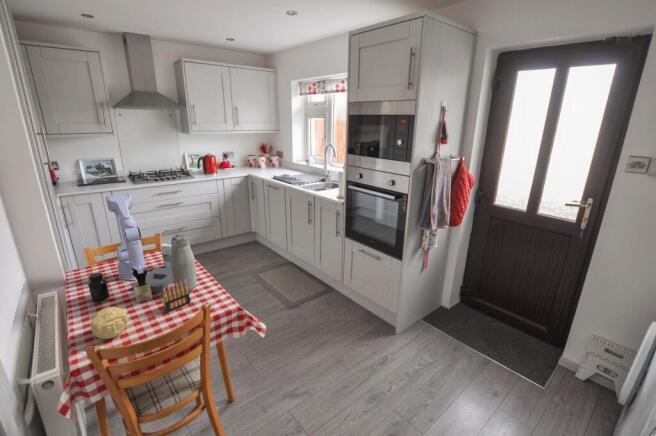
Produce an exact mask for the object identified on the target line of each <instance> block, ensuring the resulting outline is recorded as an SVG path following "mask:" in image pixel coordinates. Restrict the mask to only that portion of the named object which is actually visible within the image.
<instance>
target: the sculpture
mask: <svg viewBox="0 0 656 436" xmlns="http://www.w3.org/2000/svg"><path fill="white" fill-rule="evenodd" d="M128 320H129V319H128V315H127V310H126V308H123V307H116V306H110V307H105V308H102V309H101V310H98V311H97V312H96V313H95V314H94V315H93V316H92V318H91V320H90V326H89V327H90V330H91V333H92V334H93V335H94V336H95V337H96V338H97V339H101V340H110V339H113V338H116V337H118V336H120V335H121V334H122V333H123V332H124V331H125V329H126V327H127V326H128V325H127V324H128V323H129V321H128Z"/></svg>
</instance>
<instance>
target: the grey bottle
mask: <svg viewBox="0 0 656 436" xmlns="http://www.w3.org/2000/svg"><path fill="white" fill-rule="evenodd" d="M170 242H171V259H170V261H171V269H172V274H173V280H174V281H173V285H175V284H176V282H177V284H178V288H179V291H180V286H179V283H180V281H181V282H182V285H183V289H184V283H183V282H184V279H185V281H186V284H187V288H188V292H191V291H193V290H194V288H196V286H197V281H198V278H197V277H198V276H197V268H196V260H195V255H194V253H193V251H192V248H191V244H190V241H189V238H188V237H187V235H186V234H179V233H178V234H176V235H174V236H173V237H171V240H170Z"/></svg>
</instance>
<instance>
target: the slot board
mask: <svg viewBox="0 0 656 436" xmlns="http://www.w3.org/2000/svg"><path fill="white" fill-rule="evenodd" d="M145 282H149V284H150V289H151V293H152V292H153V293H161V292H163V287H164V288H165V289H167V286H169V285H172V284H173V283H174V280H173V274H172V269H167V268H163V267H155V268H154V269H152V270H151V271H148V272H147V275H146V281H145ZM136 284H138V281H137V280H136V282H135V281H134V283H132V285H131V286H132V290H133V291H134V287H133V285H136Z"/></svg>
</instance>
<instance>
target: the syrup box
mask: <svg viewBox="0 0 656 436" xmlns="http://www.w3.org/2000/svg"><path fill="white" fill-rule="evenodd" d="M160 249H161V254H162V260H163V267H164V268H167V269H171V261H170V259H171V241H165V242H164V243H162V244H161V245H160Z"/></svg>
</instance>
